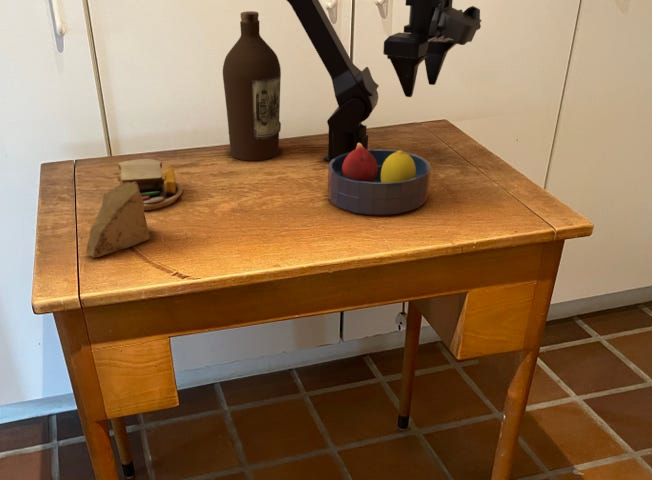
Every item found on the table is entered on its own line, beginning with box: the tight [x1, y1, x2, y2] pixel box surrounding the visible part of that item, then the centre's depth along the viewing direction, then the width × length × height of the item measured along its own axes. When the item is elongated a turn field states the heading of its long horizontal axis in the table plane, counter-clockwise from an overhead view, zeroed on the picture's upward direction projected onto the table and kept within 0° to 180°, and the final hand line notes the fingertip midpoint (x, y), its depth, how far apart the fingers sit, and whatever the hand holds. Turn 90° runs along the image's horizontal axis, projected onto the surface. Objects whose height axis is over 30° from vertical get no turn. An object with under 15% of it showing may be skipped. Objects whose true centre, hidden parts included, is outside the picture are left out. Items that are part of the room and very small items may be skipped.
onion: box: [342, 143, 378, 182], centre depth 121 cm, size 6×6×8 cm
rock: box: [86, 181, 150, 259], centre depth 108 cm, size 11×9×10 cm
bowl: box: [327, 148, 431, 216], centre depth 120 cm, size 16×16×6 cm
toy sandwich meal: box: [112, 158, 183, 211], centre depth 124 cm, size 12×14×5 cm
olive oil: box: [222, 10, 282, 162], centre depth 136 cm, size 11×11×25 cm
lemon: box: [381, 149, 416, 183], centre depth 117 cm, size 6×6×8 cm
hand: (420, 90), depth 127 cm, fingers open, 9 cm apart
